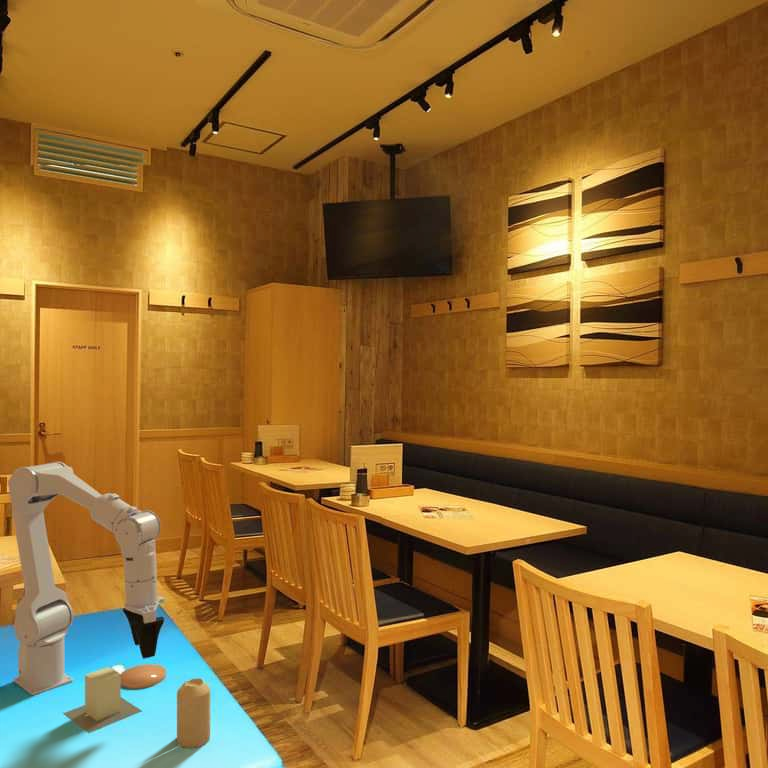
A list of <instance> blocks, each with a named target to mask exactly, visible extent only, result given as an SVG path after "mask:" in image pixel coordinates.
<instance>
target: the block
mask: <svg viewBox="0 0 768 768" xmlns="http://www.w3.org/2000/svg"><path fill="white" fill-rule="evenodd" d="M121 687H122V685H121V673H120V672H118V671H117V670H115V669H113V668H111V666H110V667H109V666H107V667H103V668H101V669H98V670H96V671H91V672H89V673H87V674H84V705H85V713H86V714H88V715H89V716H91V717H92V718H93V719H95V720H96V721H98V720H101V719H103V718H106V717H108V716H111V715H113V714H116V713H118V712H120V711H121V697H122V694H121V693H122V691H121Z"/></svg>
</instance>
